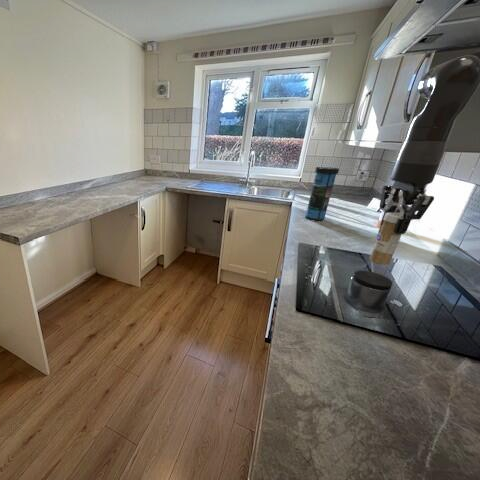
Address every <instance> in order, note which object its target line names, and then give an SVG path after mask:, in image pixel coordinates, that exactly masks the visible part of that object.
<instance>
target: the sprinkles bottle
mask: <svg viewBox="0 0 480 480" xmlns="http://www.w3.org/2000/svg"><path fill="white" fill-rule="evenodd" d="M399 215H400V213H394V212H388V213H386V214H385V216H384V222H383V225H382V227H381V230H380V233H379V235H378V234H377V235H378V237H377V236H376V237H377V238H376V240H375V243H374V245H373V249H372V252H371V254H370V256H369V260H370V261H371V262H372V263H375V264H378V265H385V266H387V265H390V264H391V261H392V259H393V257H394V254H395V253H396V249H397V247H398V245H399V242H400V240H401V238H402V234H396V233H394V229H395V226H396V224H397V221H398V219H400V218H399Z"/></svg>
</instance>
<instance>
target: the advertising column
mask: <svg viewBox="0 0 480 480" xmlns="http://www.w3.org/2000/svg"><path fill="white" fill-rule="evenodd" d="M339 170H340V168H338V167H332V166H331V167H330V166H316V167H315V170H314V173H315V176H314V179H313V183H312V189H311V191H310V196H309V197H310V198H309V200H308V205H307V209H306V213H305V217H304V218H305V219H306V218H307V219H306V220H308V219H309V220H308V221H311V220H314V221H313V222H319V221H320V222H324V221H325V217H326V214H327V210H328V207H329V203H330V200H331V195H332V192H333V188H334V184H335V181H336V177H337V175H338V174H339ZM323 220H324V221H323Z"/></svg>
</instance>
